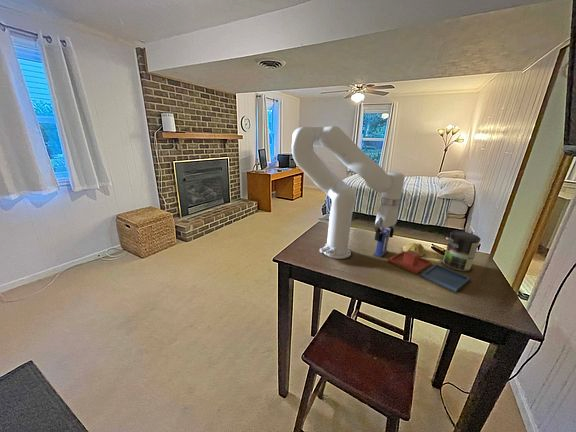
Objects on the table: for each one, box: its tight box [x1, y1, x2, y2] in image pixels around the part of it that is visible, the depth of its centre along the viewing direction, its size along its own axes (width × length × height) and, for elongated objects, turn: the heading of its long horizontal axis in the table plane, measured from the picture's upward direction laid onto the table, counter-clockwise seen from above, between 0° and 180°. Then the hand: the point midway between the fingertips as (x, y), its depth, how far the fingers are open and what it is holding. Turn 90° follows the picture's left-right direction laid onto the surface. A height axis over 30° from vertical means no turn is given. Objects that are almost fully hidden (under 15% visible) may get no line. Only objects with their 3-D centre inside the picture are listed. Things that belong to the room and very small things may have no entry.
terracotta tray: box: [387, 250, 432, 274], centre depth 104 cm, size 13×12×2 cm
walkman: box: [374, 227, 391, 258], centre depth 110 cm, size 8×3×12 cm, turn 141°
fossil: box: [402, 242, 427, 257], centre depth 114 cm, size 11×6×10 cm
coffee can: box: [442, 230, 481, 271], centre depth 102 cm, size 10×10×14 cm
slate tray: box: [420, 263, 471, 292], centre depth 93 cm, size 13×12×2 cm
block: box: [402, 250, 421, 266], centre depth 103 cm, size 4×4×4 cm
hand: (383, 238), depth 110 cm, fingers closed on walkman, 8 cm apart
